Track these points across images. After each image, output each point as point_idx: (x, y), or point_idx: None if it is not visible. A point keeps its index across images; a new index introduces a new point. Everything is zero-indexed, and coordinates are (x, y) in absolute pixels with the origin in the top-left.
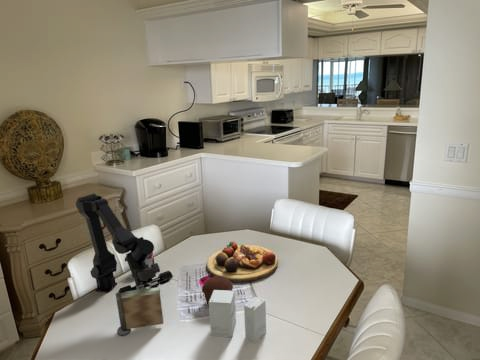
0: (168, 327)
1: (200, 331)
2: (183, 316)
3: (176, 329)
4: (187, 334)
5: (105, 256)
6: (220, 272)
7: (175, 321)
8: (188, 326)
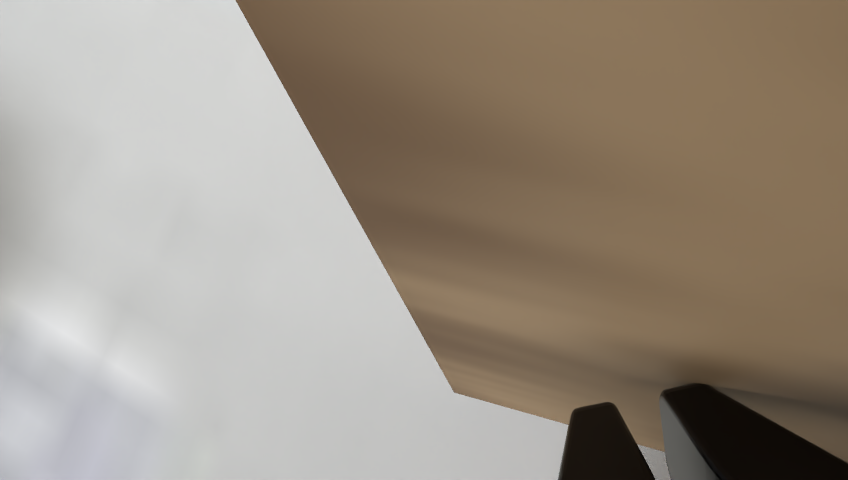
0: None
1: (37, 12)
2: (75, 469)
3: (303, 190)
4: (206, 25)
5: None
6: None
7: (247, 398)
8: (122, 176)
